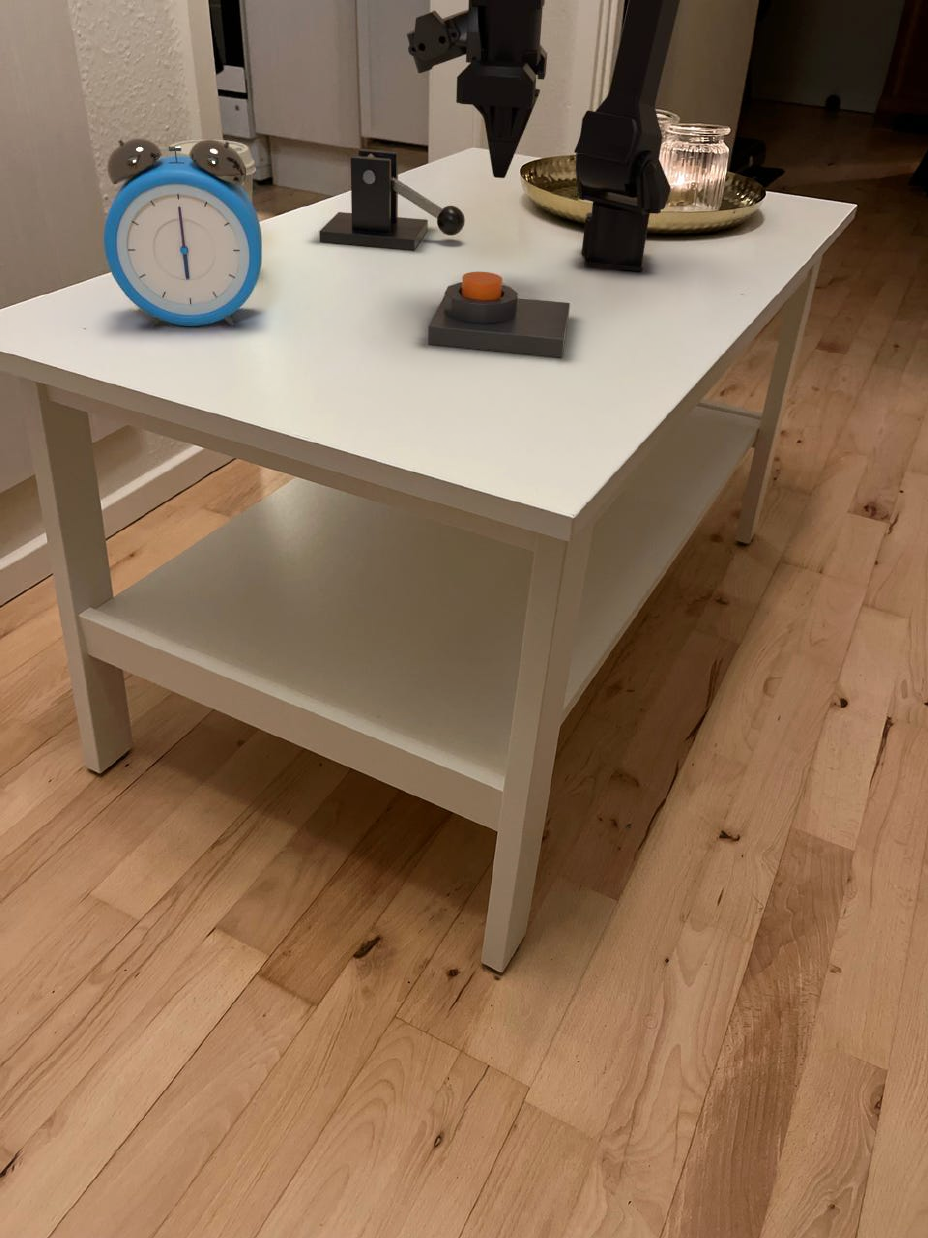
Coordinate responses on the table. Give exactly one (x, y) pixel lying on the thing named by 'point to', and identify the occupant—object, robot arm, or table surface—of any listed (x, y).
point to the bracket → (374, 207)
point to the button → (481, 285)
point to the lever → (432, 208)
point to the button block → (500, 323)
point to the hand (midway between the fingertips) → (499, 176)
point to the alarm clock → (182, 231)
